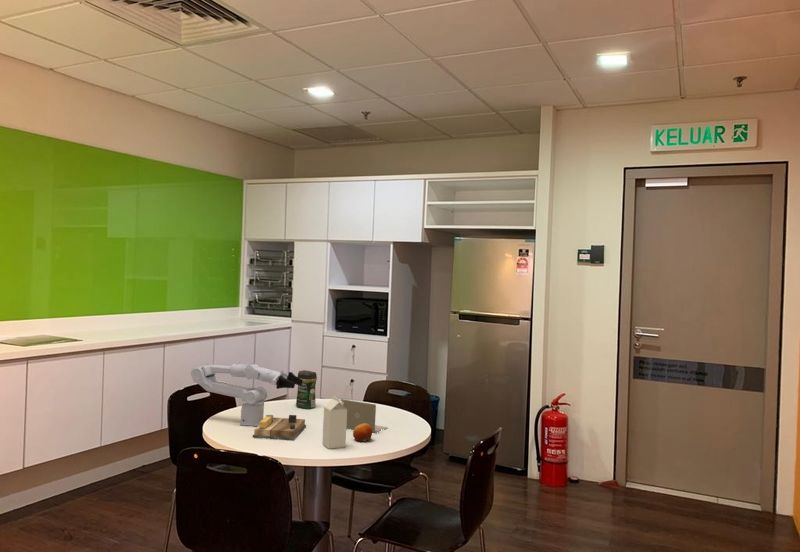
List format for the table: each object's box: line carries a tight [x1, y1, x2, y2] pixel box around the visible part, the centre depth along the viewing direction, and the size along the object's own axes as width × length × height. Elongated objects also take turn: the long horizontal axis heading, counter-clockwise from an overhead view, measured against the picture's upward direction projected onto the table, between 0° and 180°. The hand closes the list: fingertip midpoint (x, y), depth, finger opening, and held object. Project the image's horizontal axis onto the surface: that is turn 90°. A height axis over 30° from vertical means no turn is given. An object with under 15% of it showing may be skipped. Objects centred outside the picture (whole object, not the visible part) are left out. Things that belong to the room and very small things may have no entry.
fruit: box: [352, 423, 373, 443], centre depth 243 cm, size 8×8×8 cm
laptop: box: [340, 398, 388, 434], centre depth 263 cm, size 18×12×13 cm
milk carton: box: [321, 395, 347, 450], centre depth 233 cm, size 7×7×19 cm
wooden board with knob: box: [252, 414, 307, 441], centre depth 249 cm, size 17×22×6 cm
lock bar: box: [259, 414, 274, 428], centre depth 247 cm, size 13×3×2 cm, turn 178°
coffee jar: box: [295, 369, 318, 410], centre depth 299 cm, size 10×8×19 cm
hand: (298, 384), depth 256 cm, fingers open, 7 cm apart
